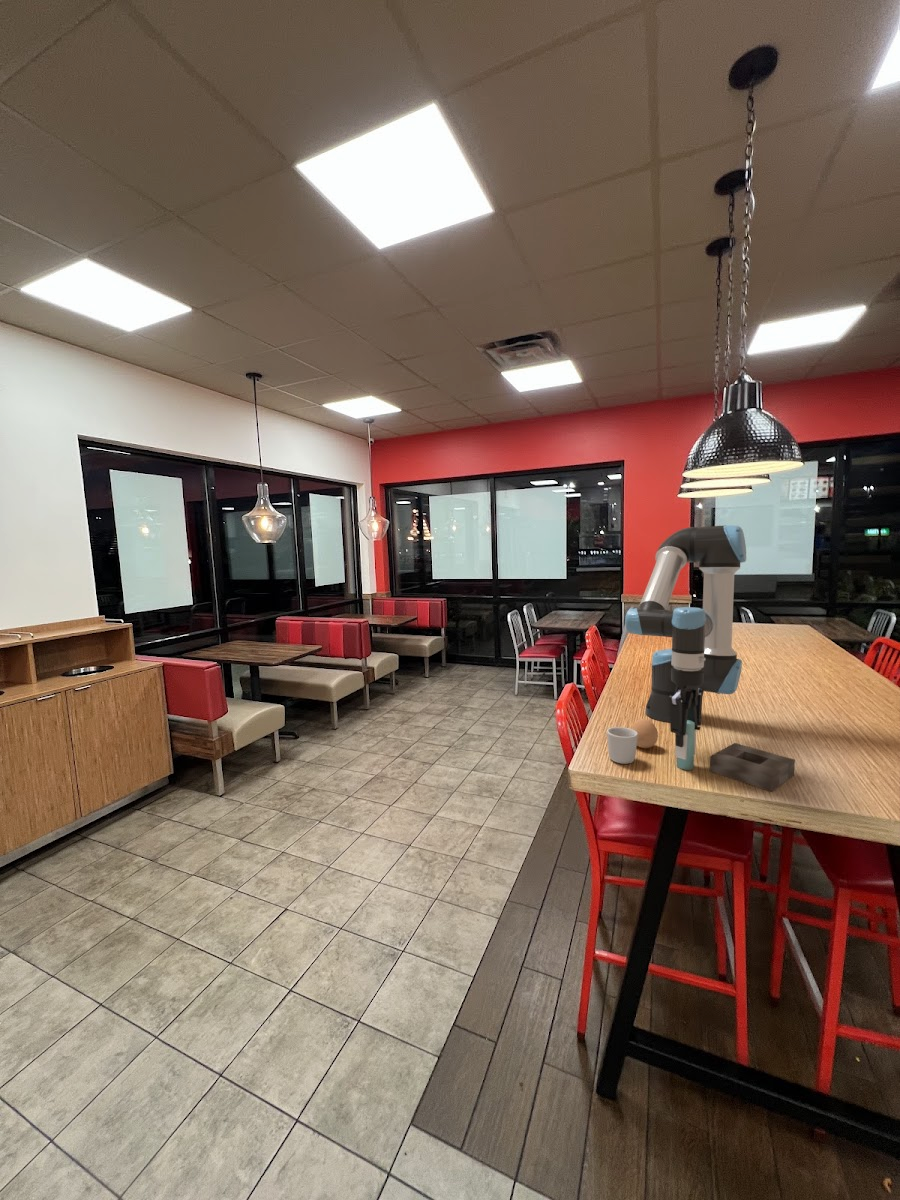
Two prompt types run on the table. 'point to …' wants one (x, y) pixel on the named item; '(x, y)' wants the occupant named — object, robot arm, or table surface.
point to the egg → (645, 733)
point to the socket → (752, 766)
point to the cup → (622, 744)
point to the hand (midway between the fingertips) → (685, 755)
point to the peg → (688, 748)
